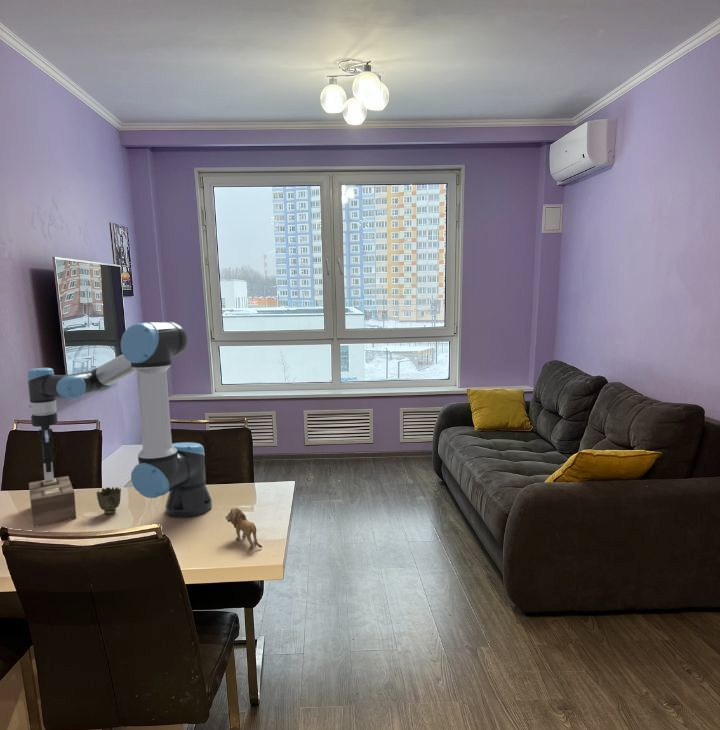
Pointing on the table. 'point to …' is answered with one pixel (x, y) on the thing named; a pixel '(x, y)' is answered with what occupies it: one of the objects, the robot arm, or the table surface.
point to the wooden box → (52, 502)
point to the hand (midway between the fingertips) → (49, 480)
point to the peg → (49, 482)
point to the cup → (109, 499)
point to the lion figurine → (242, 526)
